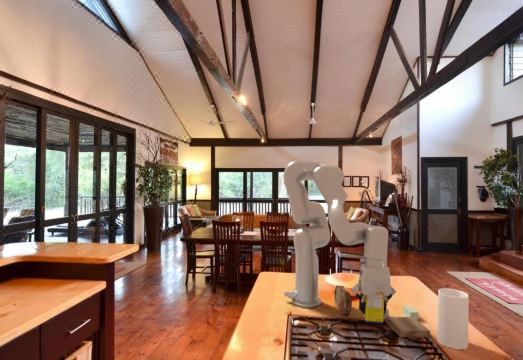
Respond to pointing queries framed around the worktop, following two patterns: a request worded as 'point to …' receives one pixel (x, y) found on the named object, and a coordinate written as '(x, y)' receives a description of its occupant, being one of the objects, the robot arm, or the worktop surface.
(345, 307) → the tin
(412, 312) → the sage brick
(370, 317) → the supplement box
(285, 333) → the worktop surface
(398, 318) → the walnut slab
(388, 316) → the slate brick
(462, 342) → the cup
